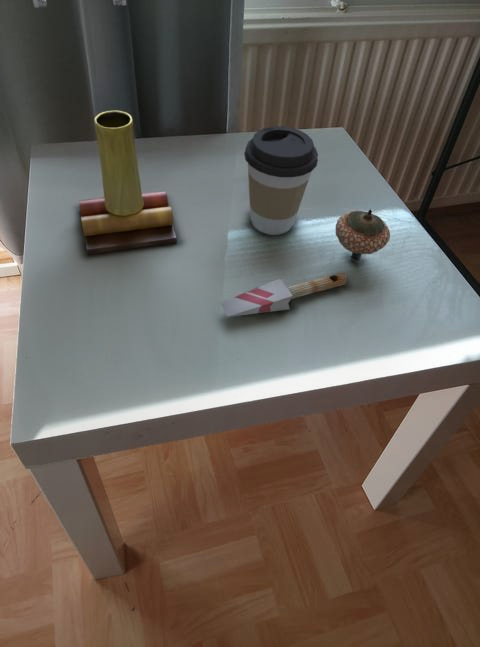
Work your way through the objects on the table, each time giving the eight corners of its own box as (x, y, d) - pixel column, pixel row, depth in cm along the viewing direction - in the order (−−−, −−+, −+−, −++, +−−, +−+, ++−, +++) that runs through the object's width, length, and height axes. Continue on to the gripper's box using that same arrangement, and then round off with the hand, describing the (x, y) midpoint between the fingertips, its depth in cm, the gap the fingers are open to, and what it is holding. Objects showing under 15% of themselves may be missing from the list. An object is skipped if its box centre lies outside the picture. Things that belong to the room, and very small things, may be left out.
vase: (97, 202, 80) (82, 116, 70) (130, 189, 83) (120, 104, 72) (118, 221, 78) (106, 134, 67) (151, 207, 80) (144, 122, 70)
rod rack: (87, 254, 78) (83, 234, 75) (81, 208, 85) (76, 188, 82) (176, 242, 81) (176, 222, 78) (162, 199, 89) (161, 179, 86)
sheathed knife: (219, 292, 70) (339, 264, 77) (217, 306, 72) (335, 277, 79) (230, 311, 68) (352, 280, 75) (228, 325, 70) (348, 294, 77)
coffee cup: (279, 195, 92) (291, 116, 80) (318, 230, 86) (336, 150, 74) (226, 213, 87) (230, 131, 76) (263, 251, 81) (274, 169, 70)
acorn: (318, 252, 82) (330, 201, 74) (356, 237, 85) (371, 186, 78) (351, 284, 78) (367, 232, 70) (390, 266, 81) (409, 215, 73)
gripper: (-56, -148, 47) (-11, 16, 58) (160, -138, 52) (166, 12, 62) (-51, -158, 51) (-9, -2, 62) (150, -148, 56) (157, -5, 66)
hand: (81, 5), depth 62 cm, fingers open, 8 cm apart
